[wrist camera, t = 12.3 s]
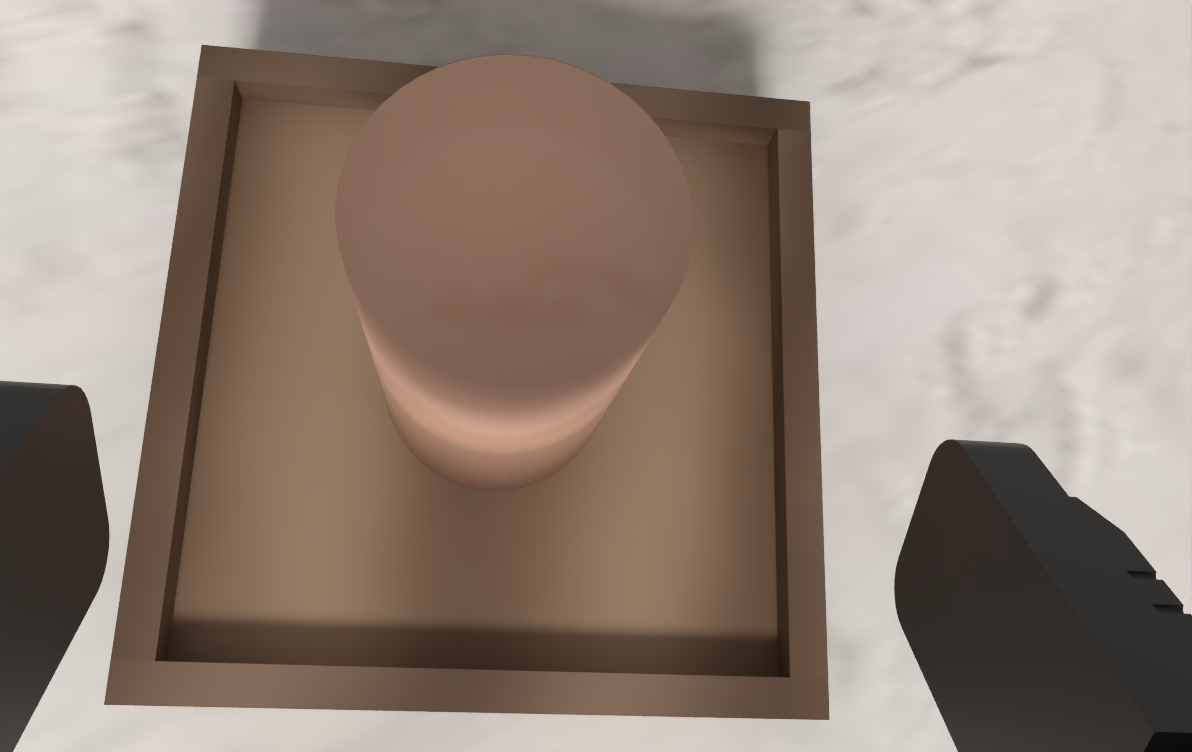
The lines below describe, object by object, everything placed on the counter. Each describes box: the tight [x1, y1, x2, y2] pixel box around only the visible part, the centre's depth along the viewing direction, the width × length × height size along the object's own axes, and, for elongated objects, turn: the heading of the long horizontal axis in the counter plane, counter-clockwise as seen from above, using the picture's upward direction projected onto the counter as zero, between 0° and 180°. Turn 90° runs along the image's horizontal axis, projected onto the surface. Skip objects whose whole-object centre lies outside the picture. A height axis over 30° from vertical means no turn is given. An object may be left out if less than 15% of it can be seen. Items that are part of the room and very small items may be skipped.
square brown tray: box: [104, 45, 829, 720], centre depth 23 cm, size 14×14×4 cm
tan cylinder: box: [335, 54, 693, 491], centre depth 18 cm, size 5×5×9 cm
